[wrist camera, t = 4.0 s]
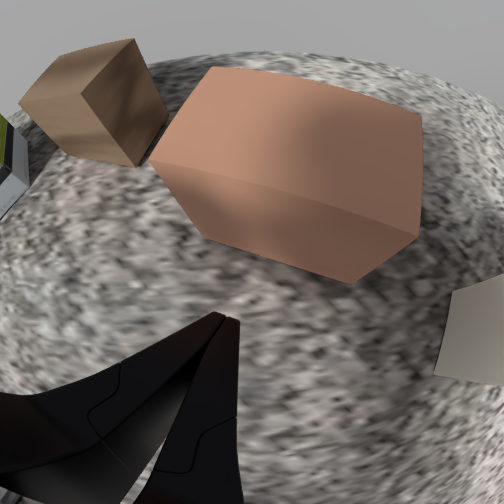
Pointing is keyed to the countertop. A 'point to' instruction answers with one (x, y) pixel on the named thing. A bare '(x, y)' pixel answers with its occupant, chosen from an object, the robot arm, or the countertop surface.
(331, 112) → the terracotta block
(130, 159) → the walnut block
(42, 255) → the countertop surface
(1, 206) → the tea box
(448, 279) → the countertop surface
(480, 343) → the cream block
